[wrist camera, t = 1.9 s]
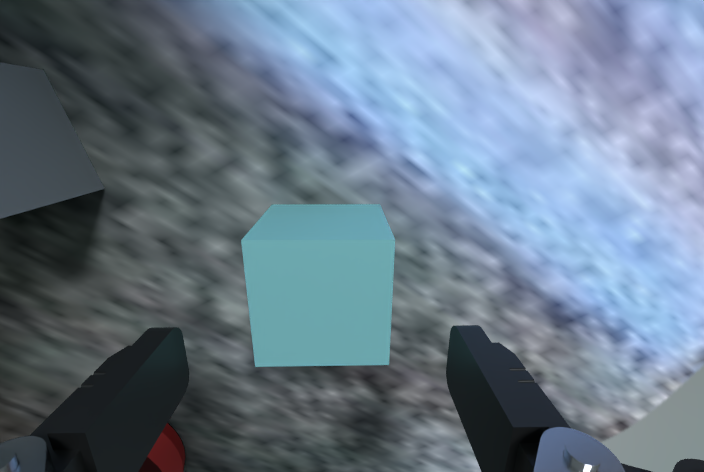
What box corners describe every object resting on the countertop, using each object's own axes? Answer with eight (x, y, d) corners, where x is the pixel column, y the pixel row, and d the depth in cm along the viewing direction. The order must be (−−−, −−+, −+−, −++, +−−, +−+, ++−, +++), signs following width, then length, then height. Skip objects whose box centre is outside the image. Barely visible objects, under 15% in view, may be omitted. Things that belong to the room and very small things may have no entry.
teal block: (272, 204, 16) (241, 240, 11) (379, 203, 16) (395, 239, 11) (279, 299, 17) (255, 366, 12) (376, 298, 17) (388, 364, 13)
